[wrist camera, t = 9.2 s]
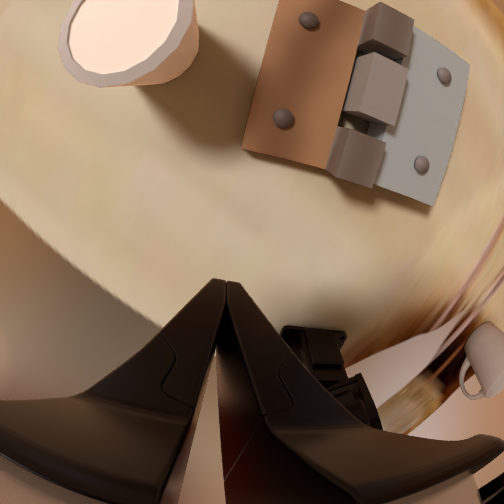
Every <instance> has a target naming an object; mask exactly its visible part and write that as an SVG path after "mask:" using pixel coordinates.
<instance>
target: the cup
mask: <svg viewBox="0 0 504 504" xmlns="http://www.w3.org/2000/svg"><path fill="white" fill-rule="evenodd" d="M464 350H465V352H466V359H465V360H464V362H463V365H462V367H461V370H460V376H459V382H460V387H461V390H462V392H463V393H464V395H465V396H466V397H467V398H469V399H471V400H476V399H480V398H482V397H485V396H486V397H487V398H490V397H493V396H495V395H496V394H498V393H499V392H501V391H502V390H503V389H504V333H503V332H502V331H501V330H500V329H499V328H498V327H496V326H495V325H494V324H493V323H492V322H487V323H484V324H482V325H480V326H479V327H478V328H477V329H476V330H475V331H474V332H473V333H472V334H471V335H470V337H469V338H468V340H467V342H466V344H465V347H464ZM470 365H471V366H472V368H473V370H474V372H475V374H476V377H477V379H478V381H479V383H480V385H481V387H482V388H481V390H480V392H479V393H478V394H476V395H470V394H469V393H467V391H466V390H465V387H464V376H465V373H466V371H467V369H468V368H469V366H470Z"/></svg>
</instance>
